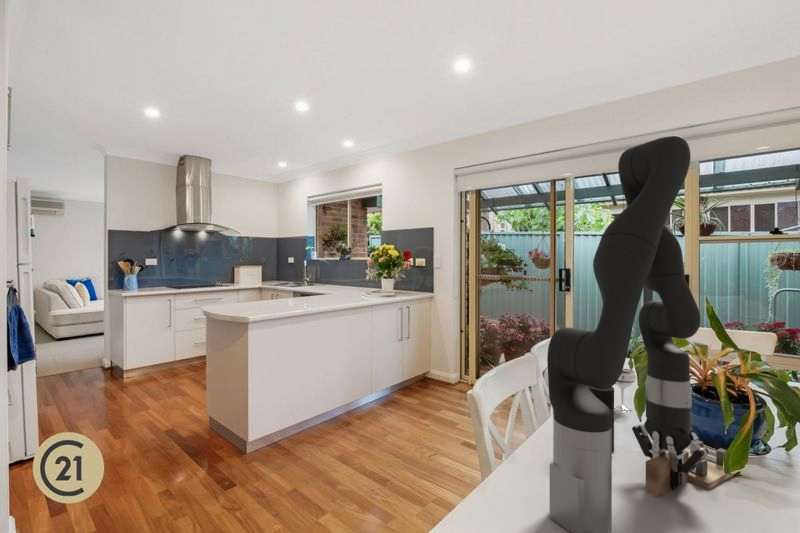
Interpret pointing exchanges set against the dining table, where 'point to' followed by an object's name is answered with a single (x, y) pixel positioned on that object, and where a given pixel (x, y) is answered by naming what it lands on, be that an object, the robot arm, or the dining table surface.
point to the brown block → (661, 474)
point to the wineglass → (625, 383)
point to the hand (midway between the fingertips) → (667, 484)
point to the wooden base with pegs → (709, 469)
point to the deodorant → (606, 403)
